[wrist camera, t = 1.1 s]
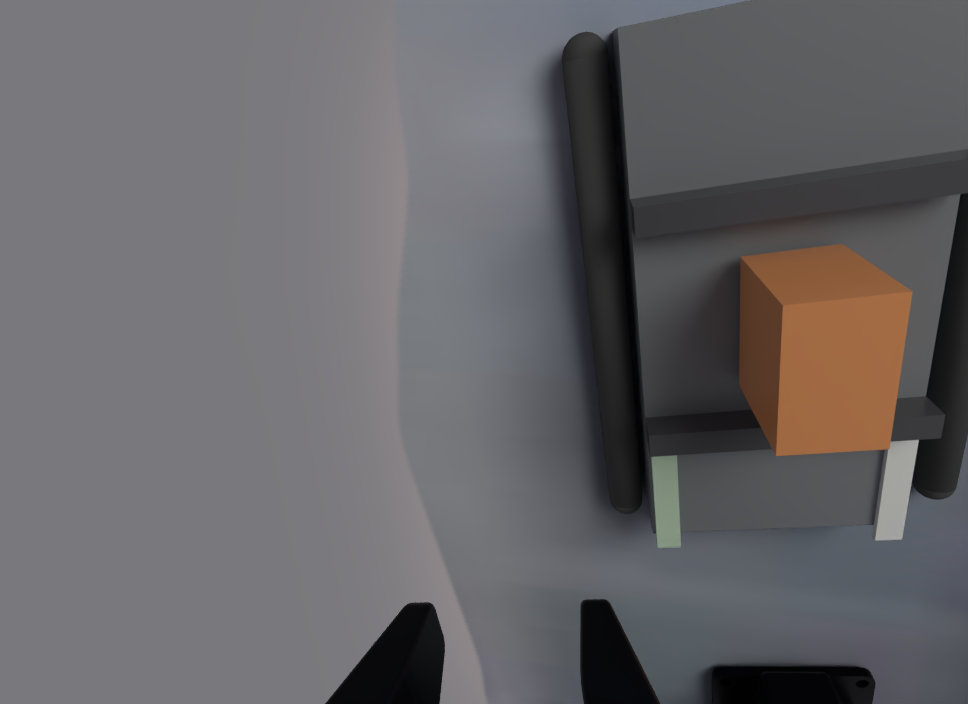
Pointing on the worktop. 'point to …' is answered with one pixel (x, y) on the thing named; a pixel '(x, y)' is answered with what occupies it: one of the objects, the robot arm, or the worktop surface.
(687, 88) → the panel
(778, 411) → the orange block
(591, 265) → the dark grey rod
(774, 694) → the robot arm
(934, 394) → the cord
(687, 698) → the worktop surface
